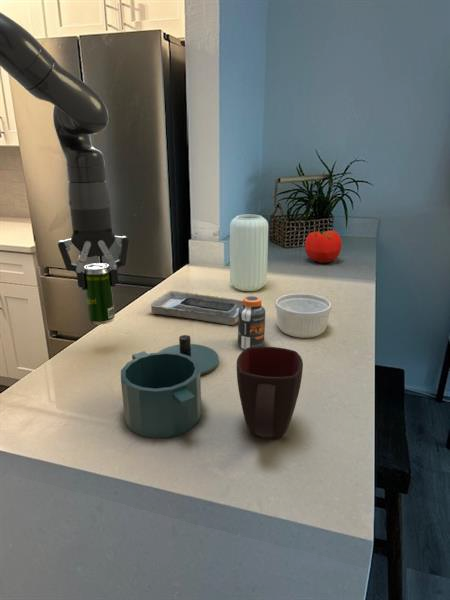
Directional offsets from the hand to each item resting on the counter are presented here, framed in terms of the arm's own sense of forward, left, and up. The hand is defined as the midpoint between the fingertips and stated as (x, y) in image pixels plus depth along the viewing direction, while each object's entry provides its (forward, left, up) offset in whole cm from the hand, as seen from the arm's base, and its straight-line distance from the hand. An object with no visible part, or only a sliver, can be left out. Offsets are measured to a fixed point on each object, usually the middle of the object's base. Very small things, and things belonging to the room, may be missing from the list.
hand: (98, 287), depth 90 cm
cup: (+21, -39, -15) cm, 47 cm away
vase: (+46, +29, -15) cm, 57 cm away
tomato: (+84, +48, -15) cm, 98 cm away
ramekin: (+46, -5, -15) cm, 49 cm away
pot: (+7, -28, -15) cm, 32 cm away
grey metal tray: (+26, +14, -15) cm, 33 cm away
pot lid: (+15, -12, -14) cm, 24 cm away
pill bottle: (+31, -9, -15) cm, 36 cm away
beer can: (0, 0, -8) cm, 8 cm away
